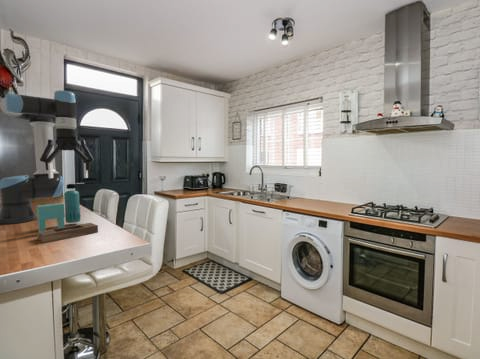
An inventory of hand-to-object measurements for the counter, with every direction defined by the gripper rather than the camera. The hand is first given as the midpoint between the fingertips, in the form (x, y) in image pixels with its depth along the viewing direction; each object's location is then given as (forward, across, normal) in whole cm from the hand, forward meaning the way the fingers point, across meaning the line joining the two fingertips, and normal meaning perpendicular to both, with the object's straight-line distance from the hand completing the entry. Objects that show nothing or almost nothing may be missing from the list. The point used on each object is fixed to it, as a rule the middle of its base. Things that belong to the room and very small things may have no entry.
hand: (68, 178), depth 118 cm
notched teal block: (+24, -8, +2) cm, 25 cm away
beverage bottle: (+24, -4, +15) cm, 29 cm away
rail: (+24, +1, -6) cm, 25 cm away
